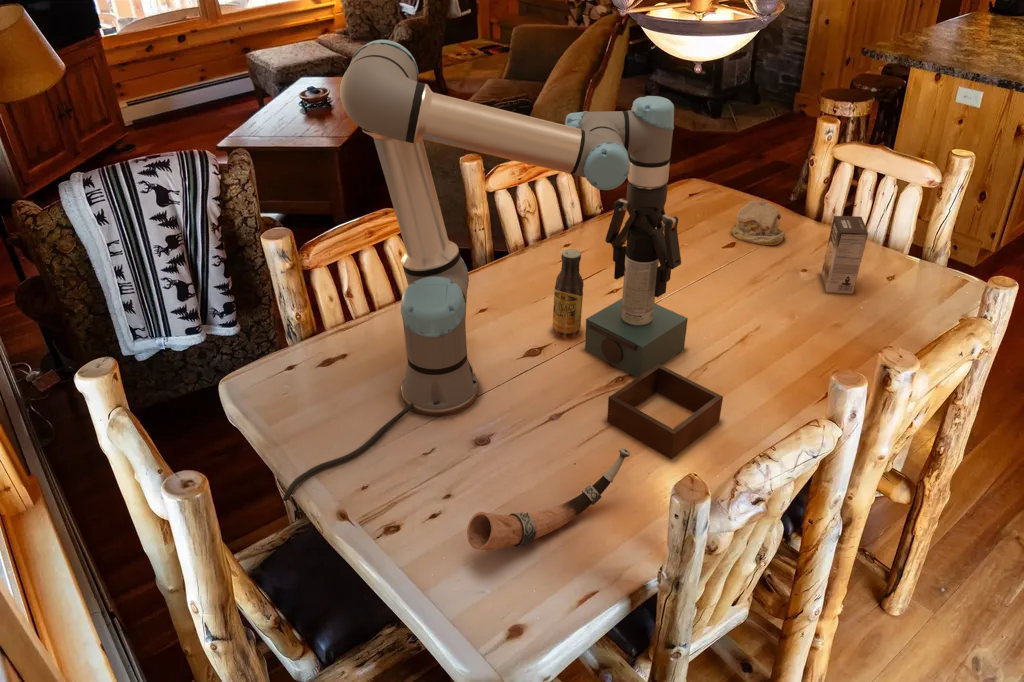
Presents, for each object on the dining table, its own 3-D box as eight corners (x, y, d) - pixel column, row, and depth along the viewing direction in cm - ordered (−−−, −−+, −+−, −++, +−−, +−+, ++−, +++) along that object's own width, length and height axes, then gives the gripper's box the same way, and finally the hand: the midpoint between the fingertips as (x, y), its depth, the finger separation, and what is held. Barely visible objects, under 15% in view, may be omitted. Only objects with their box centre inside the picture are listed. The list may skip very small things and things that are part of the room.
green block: (638, 380, 163) (641, 348, 159) (583, 351, 172) (584, 319, 168) (684, 349, 172) (687, 318, 167) (629, 323, 181) (631, 292, 176)
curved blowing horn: (463, 553, 126) (459, 507, 121) (615, 481, 139) (618, 437, 133) (480, 577, 122) (478, 531, 117) (635, 501, 135) (640, 457, 129)
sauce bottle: (547, 335, 177) (548, 255, 166) (559, 322, 182) (561, 243, 171) (574, 342, 175) (577, 262, 164) (586, 328, 179) (589, 249, 168)
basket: (671, 459, 143) (674, 434, 140) (606, 421, 152) (608, 396, 149) (719, 421, 152) (723, 396, 148) (655, 387, 161) (658, 363, 158)
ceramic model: (723, 235, 217) (728, 200, 211) (742, 220, 224) (748, 187, 218) (772, 249, 209) (779, 214, 203) (791, 234, 216) (797, 200, 210)
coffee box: (819, 274, 198) (833, 214, 189) (847, 275, 197) (861, 215, 188) (826, 293, 190) (840, 231, 181) (854, 294, 189) (869, 233, 181)
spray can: (643, 307, 171) (650, 221, 160) (659, 323, 166) (667, 235, 155) (615, 313, 169) (620, 227, 158) (630, 329, 164) (637, 241, 153)
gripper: (709, 192, 146) (696, 298, 159) (614, 161, 160) (609, 261, 172) (684, 205, 142) (673, 312, 154) (589, 172, 155) (586, 273, 168)
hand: (639, 285), depth 163 cm, fingers open, 10 cm apart
